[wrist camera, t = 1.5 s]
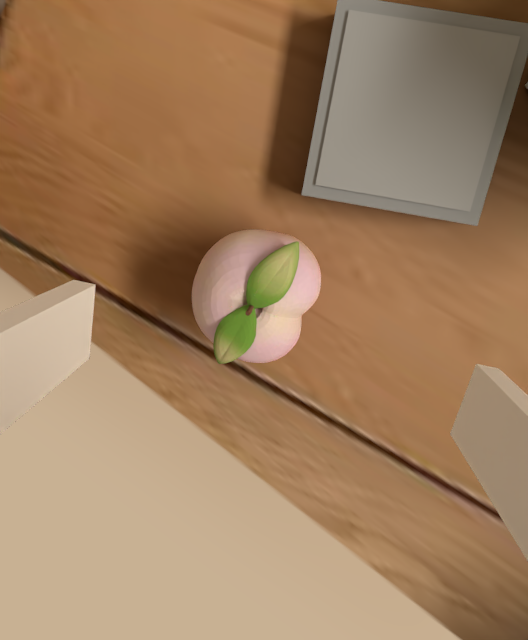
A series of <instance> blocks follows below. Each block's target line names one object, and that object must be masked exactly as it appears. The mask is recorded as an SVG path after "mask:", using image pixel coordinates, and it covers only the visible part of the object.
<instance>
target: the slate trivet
mask: <svg viewBox="0 0 528 640" xmlns="http://www.w3.org/2000/svg"><path fill="white" fill-rule="evenodd" d="M527 56H528V23H522V22H516V21H509V20H503V19H496V18H490V17H483V16H477V15H470V14H464V13H457V12H451V11H444V10H438V9H431V8H425V7H418V6H412V5H405V4H399V3H392V2H386V1H379V0H338V1H337V6H336V12H335V17H334V22H333V28H332V33H331V39H330V44H329V49H328V55H327V60H326V66H325V71H324V76H323V82H322V87H321V92H320V98H319V103H318V109H317V114H316V119H315V125H314V130H313V136H312V141H311V146H310V152H309V157H308V162H307V168H306V173H305V179H304V184H303V189H302V196H308V197H313V198H319V199H325V200H330V201H336V202H342V203H347V204H353V205H359V206H364V207H370V208H376V209H381V210H387V211H393V212H399V213H404V214H410V215H416V216H421V217H427V218H433V219H438V220H444V221H450V222H455V223H461V224H467V225H474V226H477V225H478V222H479V219H480V215H481V212H482V209H483V205H484V202H485V198H486V195H487V192H488V188H489V185H490V181H491V178H492V175H493V171H494V168H495V164H496V161H497V158H498V154H499V151H500V148H501V144H502V141H503V137H504V134H505V131H506V127H507V124H508V120H509V117H510V114H511V110H512V107H513V103H514V100H515V97H516V93H517V90H518V87H519V83H520V80H521V76H522V73H523V70H524V66H525V63H526V59H527Z"/></svg>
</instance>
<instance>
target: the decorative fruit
mask: <svg viewBox="0 0 528 640" xmlns="http://www.w3.org/2000/svg"><path fill="white" fill-rule="evenodd" d="M320 287H321V273H320V267H319V265H318V262H317V260H316V258H315V256H314V255H313V253H312V252H311V251H310V249H309V248H308V247H307V246H306V245H305V244H303V243H302V242H301V241H300V240H298V239H296V238H294V237H293V236H290V235H287V234H284V233H280V232H274V231H268V230H259V229H249V230H242V231H238V232H234V233H232V234H229V235H227V236H225V237H223V238H222V239H221V240H219V241H218V242H217V243H216V244H214V245H213V246H212V247H211V248H210V249H209V250H208V252H207V253H206V254H205V256H204V257H203V259H202V261H201V263H200V265H199V267H198V270H197V273H196V276H195V278H194V282H193V287H192V308H193V313H194V316H195V319H196V322H197V324H198V326H199V328H200V329H201V331H202V332H203V334H204V335H205V336H206V337H207V338H208V339H209V340H210V341H211V342H213V343H214V354H215V357H216V359H217V362H218V363H219V364H221V363H228V362H231V361H233V360H235V359H240V360H243V361H247V362H253V363H266V362H271V361H274V360H277V359H279V358H281V357H283V356H284V355H286V354H287V353H288V352H289V351H290V350H291V349H292V348H293V347H294V345H295V344H296V342H297V340H298V339H299V335H300V332H301V316H302V314H303V313H305V312H306V311H307V310H308V309H309V308H310V307H311V306H312V305H313V304H314V303H315V301H316V300H317V298H318V295H319V292H320Z"/></svg>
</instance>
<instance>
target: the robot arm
mask: <svg viewBox="0 0 528 640" xmlns="http://www.w3.org/2000/svg"><path fill="white" fill-rule="evenodd" d="M94 297H95V284H91V283H86V282H81V281H76V280H72V281H70V282H68V283H65V284H63V285H61V286H59V287H56V288H54V289H52V290H49V291H47V292H45V293H43V294H40V295H38V296H36V297H33V298H31V299H29V300H27V301H24V302H22V303H20V304H18V305H15V306H13V307H11V308H9V309H6V310H4V311H2V312H0V434H1V433H3V432H4V431H5V430H6V429H7V428H8V427H10V426H11V425H12V424H13V423H14V422H16V421H17V420H18V419H19V418H20V417H21V416H22V415H24V414H25V413H26V412H27V411H28V410H30V409H31V408H32V407H33V406H34V405H35V404H36V403H38V402H39V401H40V400H41V399H42V398H44V397H45V396H46V395H47V394H48V393H50V392H51V391H52V390H53V389H54V388H55V387H56V386H58V385H59V384H60V383H61V382H62V381H64V380H65V379H66V378H67V377H68V376H69V375H71V374H72V373H73V372H74V371H75V370H76V369H78V368H79V367H80V366H81V365H82V364H83V363H85V362H86V361H87V360H88V359H89V358H90V347H91V334H92V322H93V309H94ZM450 435H451V436H452V438H453V439H454V441H455V443H456V444H457V446H458V448H459V449H460V451H461V453H462V454H463V456H464V457H465V459H466V461H467V462H468V464H469V466H470V467H471V469H472V471H473V472H474V474H475V476H476V477H477V479H478V480H479V482H480V484H481V485H482V487H483V489H484V490H485V492H486V494H487V495H488V497H489V499H490V500H491V502H492V503H493V505H494V507H495V508H496V510H497V512H498V513H499V515H500V517H501V518H502V520H503V522H504V523H505V525H506V526H507V528H508V530H509V531H510V533H511V535H512V536H513V538H514V540H515V541H516V543H517V544H518V546H519V548H520V549H521V551H522V553H523V554H524V556H525V558H526V559H527V561H528V395H527V394H526V393H525V392H524V391H523V390H521V389H520V388H519V387H518V386H517V385H516V384H515V383H514V382H513V381H512V380H511V379H510V378H508V377H507V376H506V375H505V374H504V373H503V372H502V371H501V370H500V369H499V368H494V367H489V366H484V365H480V364H476V366H475V369H474V371H473V374H472V377H471V379H470V382H469V385H468V387H467V390H466V393H465V395H464V398H463V401H462V403H461V406H460V409H459V412H458V414H457V417H456V420H455V422H454V425H453V428H452V430H451V433H450Z"/></svg>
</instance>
